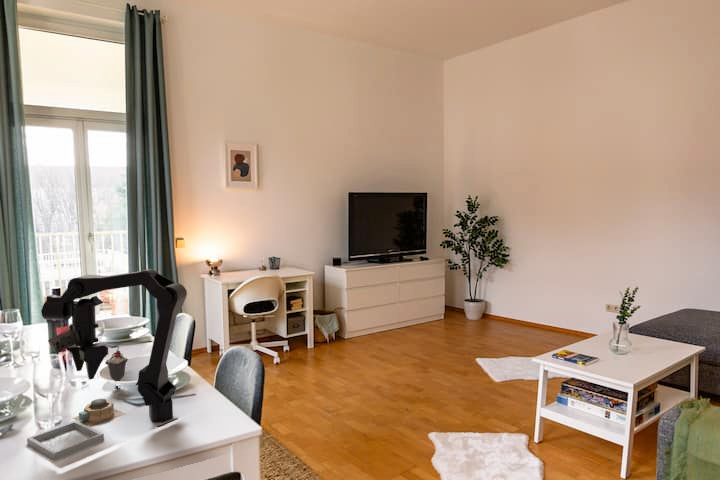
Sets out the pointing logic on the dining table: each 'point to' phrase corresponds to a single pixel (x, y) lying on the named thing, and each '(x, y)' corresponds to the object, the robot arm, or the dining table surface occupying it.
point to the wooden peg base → (98, 405)
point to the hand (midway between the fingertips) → (85, 374)
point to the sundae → (117, 366)
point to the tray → (54, 454)
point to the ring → (97, 412)
